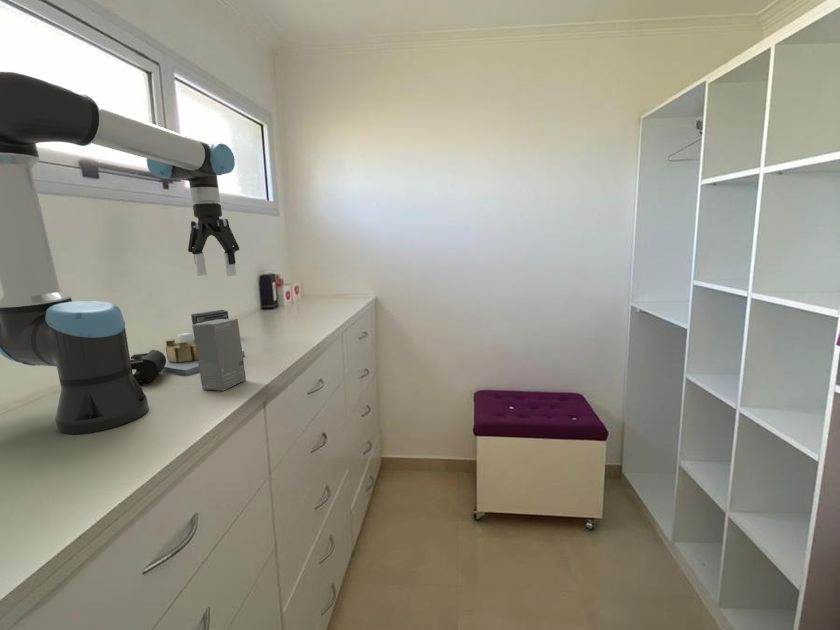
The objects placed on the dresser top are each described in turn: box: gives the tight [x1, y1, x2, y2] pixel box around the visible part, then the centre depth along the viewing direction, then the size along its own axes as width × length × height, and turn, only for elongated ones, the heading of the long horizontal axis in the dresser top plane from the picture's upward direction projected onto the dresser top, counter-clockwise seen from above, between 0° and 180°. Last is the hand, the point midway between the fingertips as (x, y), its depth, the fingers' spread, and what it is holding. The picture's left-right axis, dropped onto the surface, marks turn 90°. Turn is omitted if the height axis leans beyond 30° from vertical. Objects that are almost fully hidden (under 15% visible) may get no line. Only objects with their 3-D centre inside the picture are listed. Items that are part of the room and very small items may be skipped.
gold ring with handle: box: [165, 339, 198, 362], centre depth 128 cm, size 16×10×5 cm, turn 153°
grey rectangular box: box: [191, 318, 247, 392], centre depth 104 cm, size 8×7×16 cm
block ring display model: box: [160, 332, 245, 377], centre depth 126 cm, size 19×18×8 cm
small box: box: [190, 309, 230, 325], centre depth 150 cm, size 11×6×10 cm, turn 130°
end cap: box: [130, 349, 166, 387], centre depth 112 cm, size 10×7×7 cm
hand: (216, 275), depth 133 cm, fingers open, 13 cm apart
